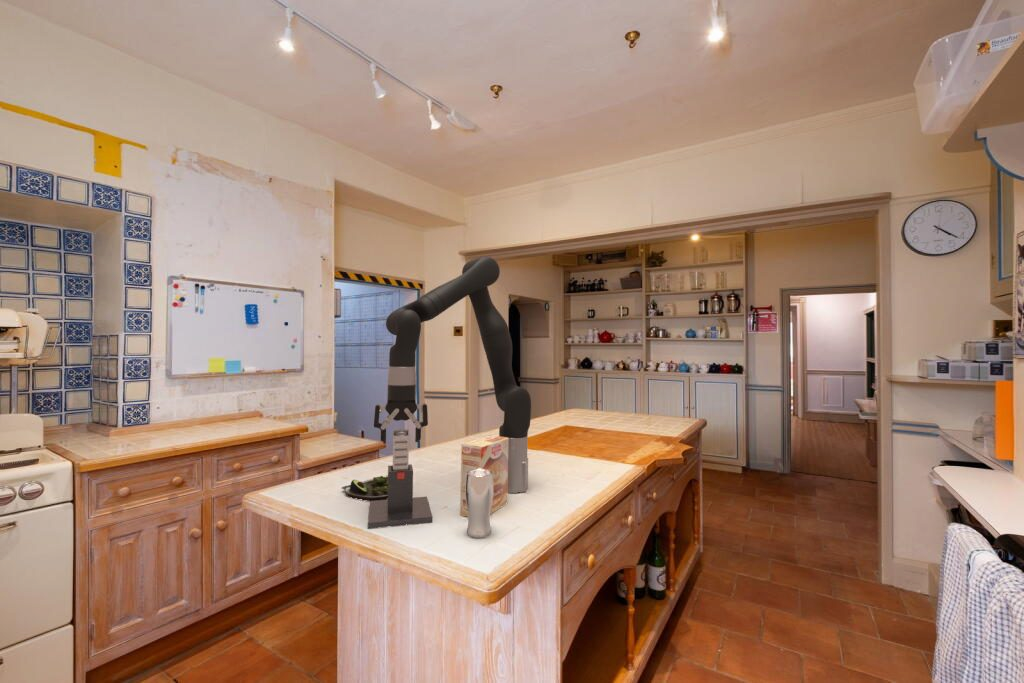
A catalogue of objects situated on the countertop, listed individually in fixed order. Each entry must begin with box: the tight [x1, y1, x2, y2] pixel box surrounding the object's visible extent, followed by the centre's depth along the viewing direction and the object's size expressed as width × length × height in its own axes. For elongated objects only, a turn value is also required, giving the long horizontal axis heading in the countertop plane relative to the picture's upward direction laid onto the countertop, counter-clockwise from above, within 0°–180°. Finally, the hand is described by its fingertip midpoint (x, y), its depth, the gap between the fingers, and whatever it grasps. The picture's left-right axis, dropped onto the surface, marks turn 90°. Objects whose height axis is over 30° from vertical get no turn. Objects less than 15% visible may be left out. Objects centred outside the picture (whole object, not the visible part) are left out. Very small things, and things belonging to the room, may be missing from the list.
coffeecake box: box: [459, 434, 509, 518], centre depth 126 cm, size 15×7×20 cm, turn 151°
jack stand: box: [367, 463, 433, 529], centre depth 121 cm, size 16×16×12 cm
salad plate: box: [341, 474, 388, 502], centre depth 141 cm, size 19×18×5 cm
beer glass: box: [465, 469, 494, 539], centre depth 110 cm, size 7×7×15 cm
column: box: [392, 428, 410, 471], centre depth 121 cm, size 4×4×21 cm
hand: (400, 442), depth 122 cm, fingers open, 8 cm apart
